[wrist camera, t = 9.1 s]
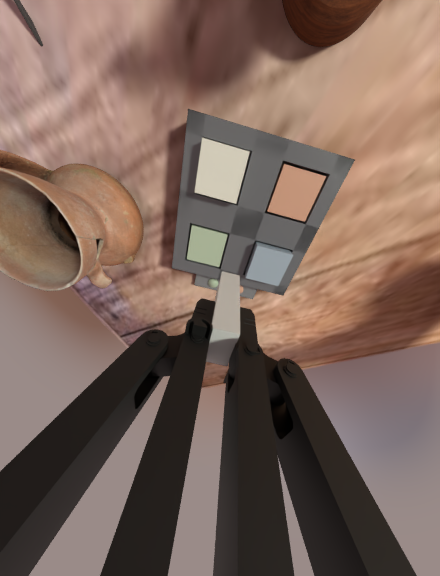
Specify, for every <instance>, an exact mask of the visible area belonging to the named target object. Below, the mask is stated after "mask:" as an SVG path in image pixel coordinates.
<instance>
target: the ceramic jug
mask: <svg viewBox="0 0 440 576" xmlns="http://www.w3.org/2000/svg"><path fill="white" fill-rule="evenodd" d="M142 239H143V221H142V217H141V214H140V211H139V208H138V206H137V204H136V202H135V201H134V199H133V197H132V196H131V195H130V193H129V192H128V191H127V190H126V189H125V187H124V186H123V185H122V184H121V183H119V182H118V181H117V180H116V179H115V178H113V177H112V176H110V175H109V174H107V173H106V172H104V171H102V170H100V169H98V168H95V167H93V166H89V165H84V164H69V165H65V166H62V167H60V168H58V169H56V170H54V171H51V170H48V169H46V168H44V167H42V166H40V165H38V164H36V163H35V162H32V161H30V160H27V159H25V158H22V157H20V156H17V155H15V154H12V153H9V152H6V151H2V150H0V271H1V272H3V273H4V274H5V275H7V276H8V277H10V278H12V279H14V280H17V281H18V282H20V283H22V284H24V285H27V286H30V287H33V288H36V289H40V290H46V291H58V290H63V289H66V288H68V287H70V286H72V285H74V284H76V283H77V282H78V281H80V280H81V279H82V278H83V277H84V276H87V277H88V278H89V279H90V281H91V282H92V283H93V284H94V285H96V286H97V287H99V288H106V287H107V286H108V285H109V284H111V282H112V279H111V278H109V277H108V276H107V275H106V274H105V273H104V271H103V269H102V265H104V266H111V265H118V264H121V263H124V264H127V263H131V262H133V261H134V258H135V255H136V253H137V251H138V250H139V248H140V246H141V243H142Z"/></svg>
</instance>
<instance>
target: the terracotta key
mask: <svg viewBox="0 0 440 576" xmlns="http://www.w3.org/2000/svg"><path fill="white" fill-rule="evenodd" d="M325 178H326V176H323V175H320V174H316V173H313V172H310V171H306V170H303V169H299V168H296V167H293V166H289V165H286V164H283V165H281V168H280V171H279V174H278V176H277V179H276V182H275V185H274V188H273V191H272V193H271V196H270V199H269V202H268V205H267V208H266V210H267V211H268V212H272V213H275V214H279V215H282V216H286V217H290V218H293V219H297V220H301V221H304V222H305V220H306V218H307V216H308V214H309V212H310V210H311V208H312V205H313V203H314V201H315V199H316V197H317V195H318V193H319V191H320V189H321V187H322V185H323V182H324V180H325Z"/></svg>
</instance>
